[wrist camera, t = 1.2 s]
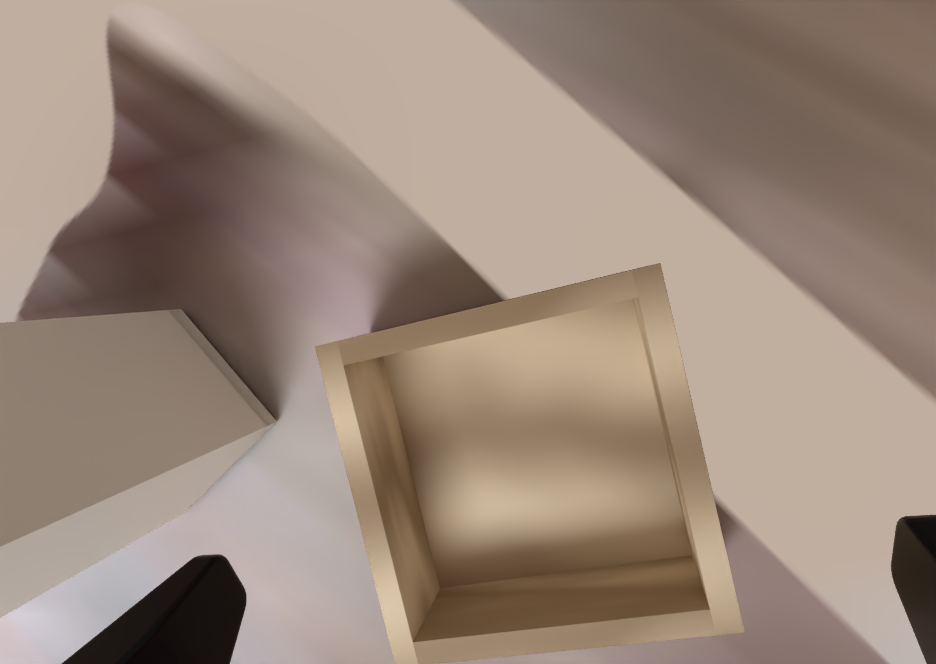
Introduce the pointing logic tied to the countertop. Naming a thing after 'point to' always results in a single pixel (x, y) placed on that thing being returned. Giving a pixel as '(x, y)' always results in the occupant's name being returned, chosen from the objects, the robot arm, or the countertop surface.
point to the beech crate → (532, 476)
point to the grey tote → (108, 437)
